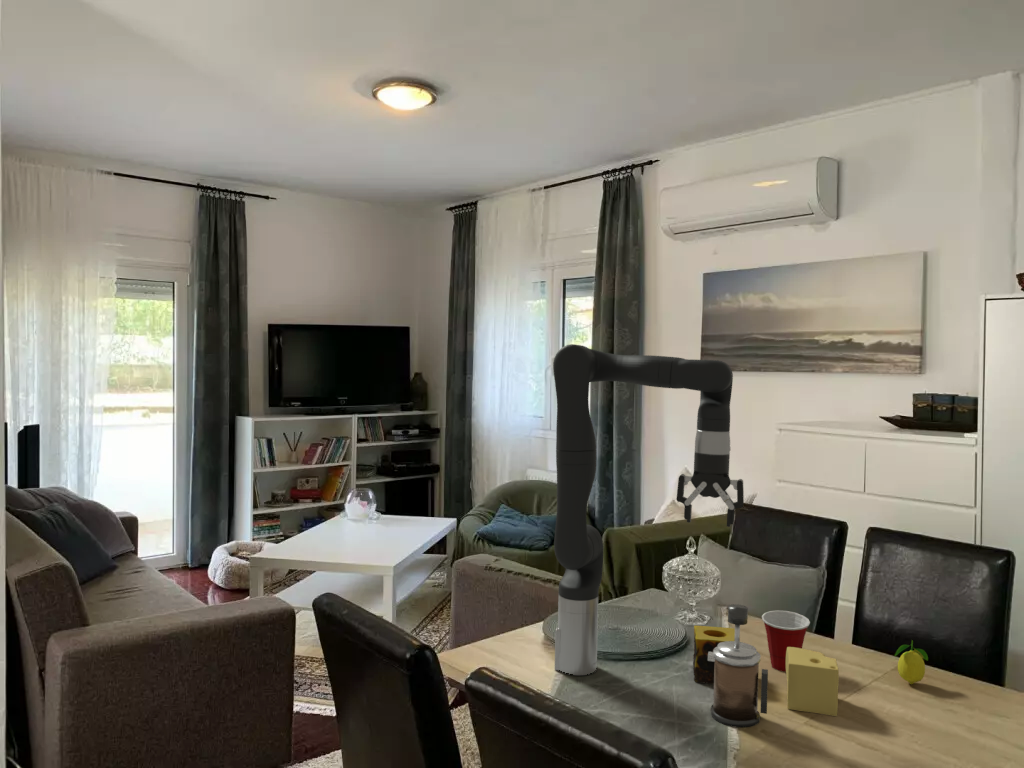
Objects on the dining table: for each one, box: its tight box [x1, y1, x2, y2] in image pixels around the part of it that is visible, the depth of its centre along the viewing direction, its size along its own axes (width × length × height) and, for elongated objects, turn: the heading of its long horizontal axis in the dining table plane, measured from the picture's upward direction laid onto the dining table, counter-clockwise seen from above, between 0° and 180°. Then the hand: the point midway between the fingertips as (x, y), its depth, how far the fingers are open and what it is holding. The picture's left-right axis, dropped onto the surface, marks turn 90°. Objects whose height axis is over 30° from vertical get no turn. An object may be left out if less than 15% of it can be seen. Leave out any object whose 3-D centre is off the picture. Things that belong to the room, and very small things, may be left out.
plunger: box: [717, 603, 757, 658], centre depth 159 cm, size 8×8×9 cm
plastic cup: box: [761, 610, 811, 673], centre depth 186 cm, size 11×11×12 cm
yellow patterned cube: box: [692, 624, 735, 685], centre depth 180 cm, size 10×10×10 cm
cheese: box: [785, 647, 840, 717], centre depth 166 cm, size 10×11×10 cm
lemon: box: [894, 639, 929, 685], centre depth 178 cm, size 7×6×10 cm
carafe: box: [708, 647, 769, 728], centre depth 159 cm, size 12×10×13 cm
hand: (708, 524), depth 173 cm, fingers open, 8 cm apart
